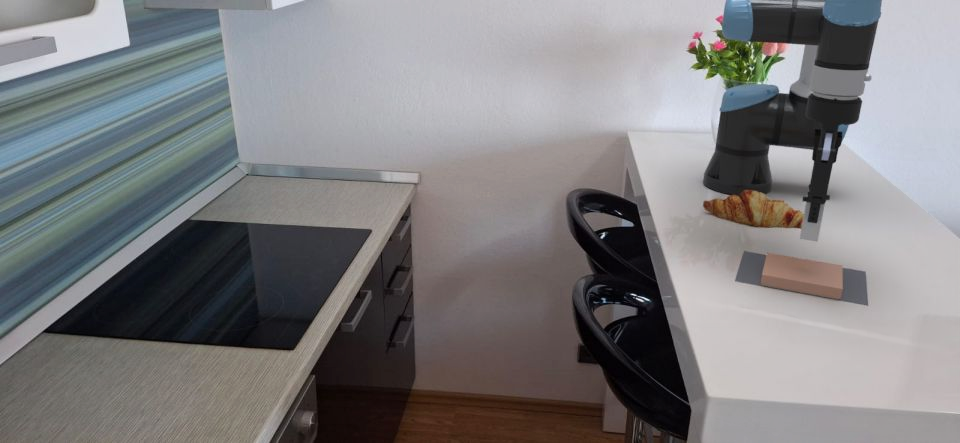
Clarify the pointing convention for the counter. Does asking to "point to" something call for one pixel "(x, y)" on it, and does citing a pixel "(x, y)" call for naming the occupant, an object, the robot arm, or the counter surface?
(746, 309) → the counter surface
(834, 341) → the counter surface
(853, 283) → the mat
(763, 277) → the block
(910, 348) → the counter surface
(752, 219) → the croissant
